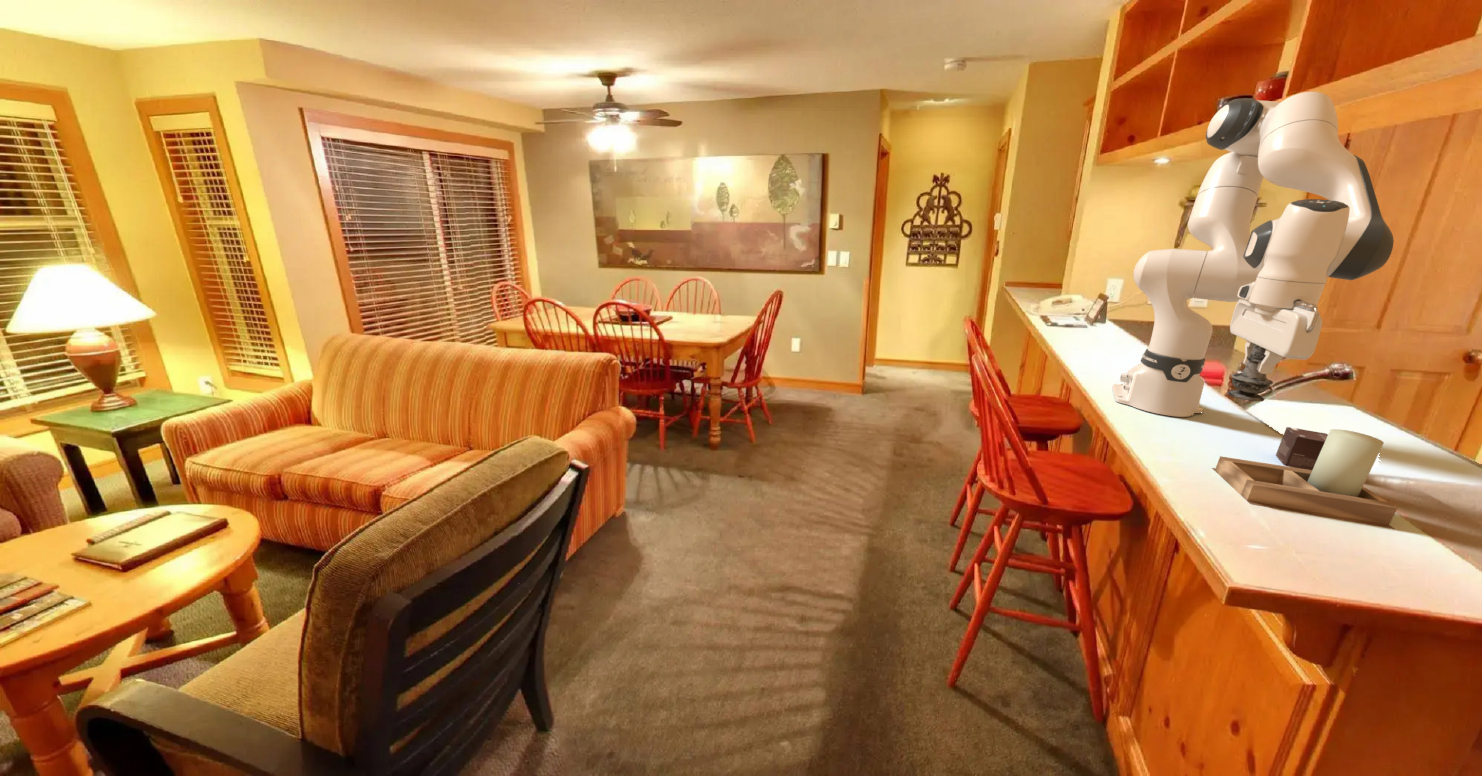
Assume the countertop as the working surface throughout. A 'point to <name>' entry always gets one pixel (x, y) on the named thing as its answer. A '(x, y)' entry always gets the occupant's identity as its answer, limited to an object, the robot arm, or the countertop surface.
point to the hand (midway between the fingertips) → (1256, 369)
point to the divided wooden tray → (1301, 493)
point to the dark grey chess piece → (1251, 378)
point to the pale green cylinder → (1345, 462)
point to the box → (1300, 448)
